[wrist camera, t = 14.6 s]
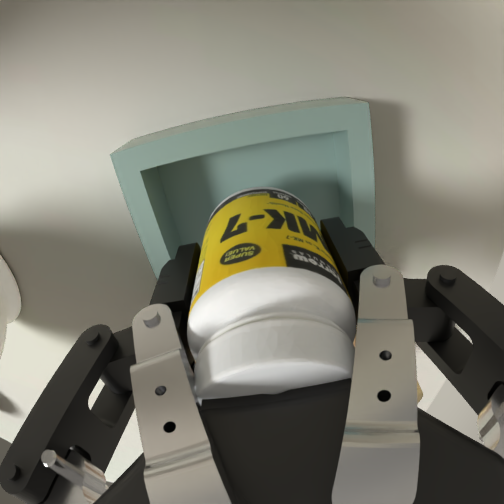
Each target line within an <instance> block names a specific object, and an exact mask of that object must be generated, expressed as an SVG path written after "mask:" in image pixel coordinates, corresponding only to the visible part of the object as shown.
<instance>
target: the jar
mask: <svg viewBox="0 0 504 504" xmlns="http://www.w3.org/2000/svg"><path fill="white" fill-rule="evenodd" d="M20 310H21V296H20V292H19V288H18V285H17V283H16V280H15V278H14V276H13V274H12V272H11V270H10V268H9V267H8V265H7V264H6V262H5V261H4V259H3V258H2V257H1V255H0V359H1V355H2V352H3V348H4V344H5V339H6V331H7V324H8V323H11V322H13V321H14V320H15V319H16V318H17V317H18V315H19V313H20Z"/></svg>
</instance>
